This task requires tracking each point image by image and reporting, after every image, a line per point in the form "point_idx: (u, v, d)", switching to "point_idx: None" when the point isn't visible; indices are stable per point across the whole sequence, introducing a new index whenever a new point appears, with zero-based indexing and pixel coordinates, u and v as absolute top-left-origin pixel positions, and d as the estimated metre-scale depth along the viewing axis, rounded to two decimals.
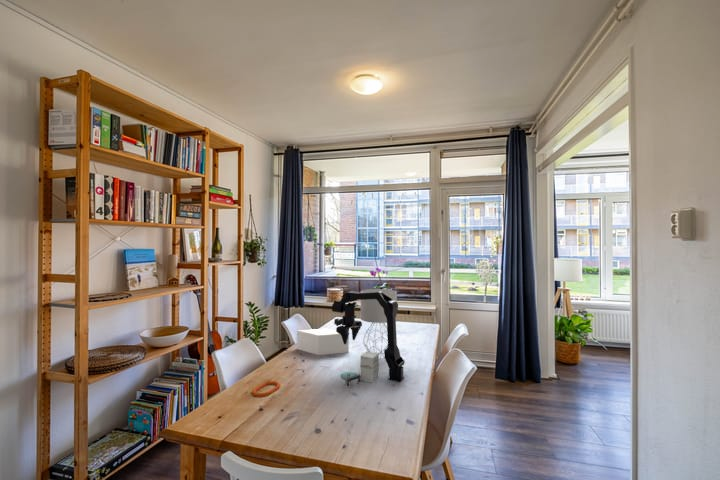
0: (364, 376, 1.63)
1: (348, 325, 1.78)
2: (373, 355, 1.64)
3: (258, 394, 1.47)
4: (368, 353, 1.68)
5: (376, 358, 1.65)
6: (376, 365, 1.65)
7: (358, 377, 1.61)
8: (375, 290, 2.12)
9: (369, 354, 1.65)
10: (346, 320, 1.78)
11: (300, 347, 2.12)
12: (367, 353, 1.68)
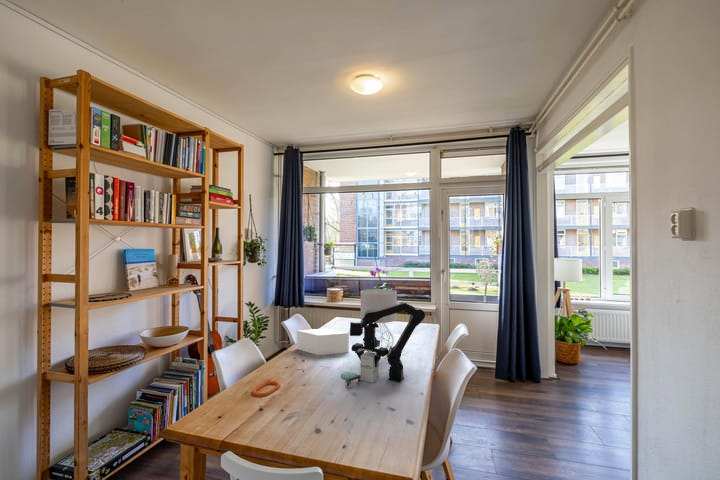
0: (364, 375, 1.63)
1: None
2: (373, 355, 1.64)
3: (258, 394, 1.47)
4: (368, 353, 1.68)
5: None
6: None
7: (358, 377, 1.61)
8: (375, 290, 2.12)
9: (369, 354, 1.65)
10: None
11: (300, 347, 2.12)
12: (367, 353, 1.68)
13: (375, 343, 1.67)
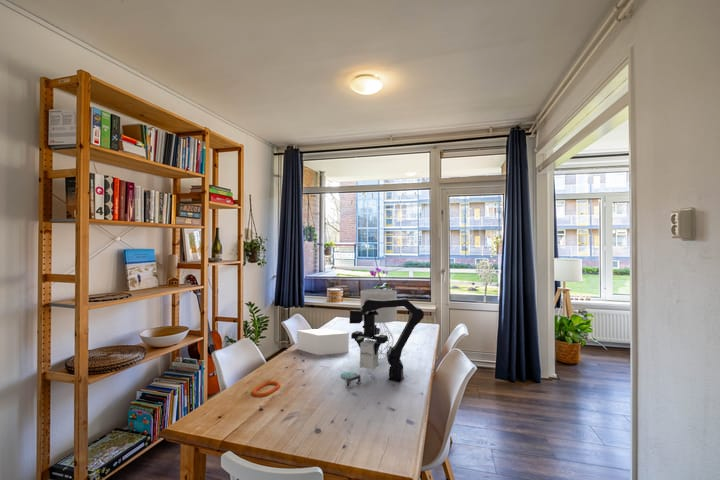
0: (363, 363, 1.63)
1: (363, 334, 1.67)
2: (373, 343, 1.64)
3: (258, 394, 1.47)
4: (368, 341, 1.68)
5: None
6: None
7: (358, 377, 1.61)
8: (375, 290, 2.12)
9: (369, 342, 1.65)
10: None
11: (300, 347, 2.12)
12: (367, 340, 1.68)
13: (375, 331, 1.67)
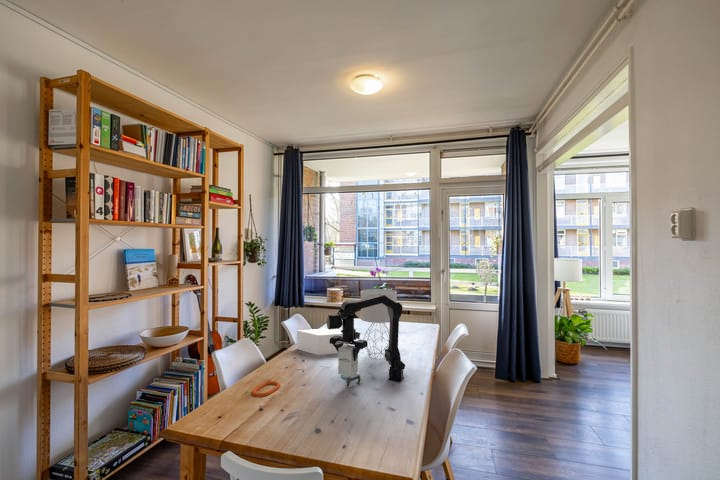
0: (342, 369, 1.55)
1: None
2: (351, 348, 1.56)
3: (258, 394, 1.47)
4: (347, 346, 1.59)
5: None
6: None
7: (358, 377, 1.61)
8: (375, 290, 2.12)
9: (348, 347, 1.57)
10: None
11: (300, 347, 2.12)
12: (346, 345, 1.59)
13: (354, 335, 1.58)
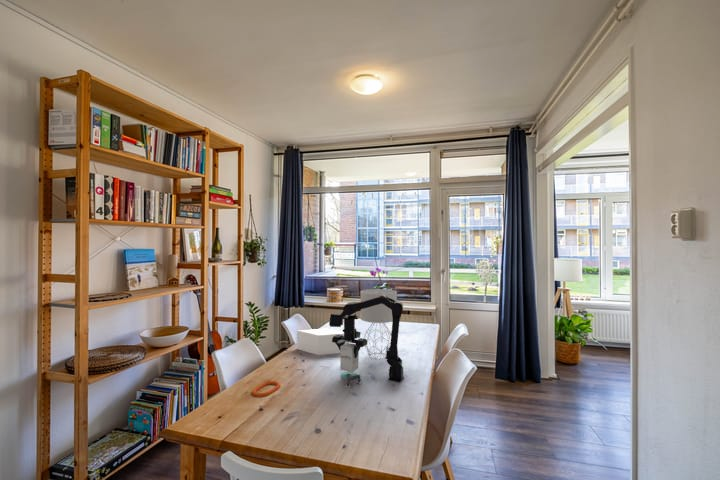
0: (344, 366, 1.67)
1: None
2: (352, 346, 1.68)
3: (258, 394, 1.47)
4: (348, 344, 1.71)
5: None
6: None
7: (358, 377, 1.61)
8: (375, 290, 2.12)
9: (349, 345, 1.69)
10: None
11: (300, 347, 2.12)
12: (347, 344, 1.72)
13: (355, 334, 1.71)
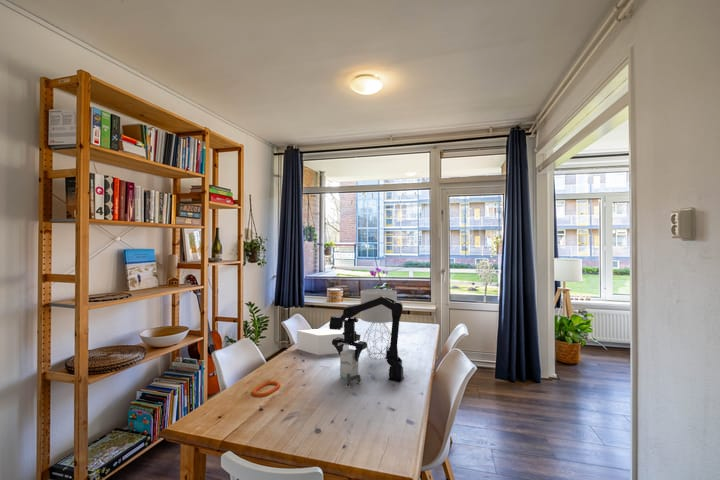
0: (343, 372, 1.67)
1: None
2: (352, 352, 1.68)
3: (258, 394, 1.47)
4: (348, 350, 1.71)
5: None
6: None
7: (358, 377, 1.61)
8: (375, 290, 2.12)
9: (349, 351, 1.69)
10: None
11: (300, 347, 2.12)
12: (347, 349, 1.72)
13: (355, 337, 1.71)
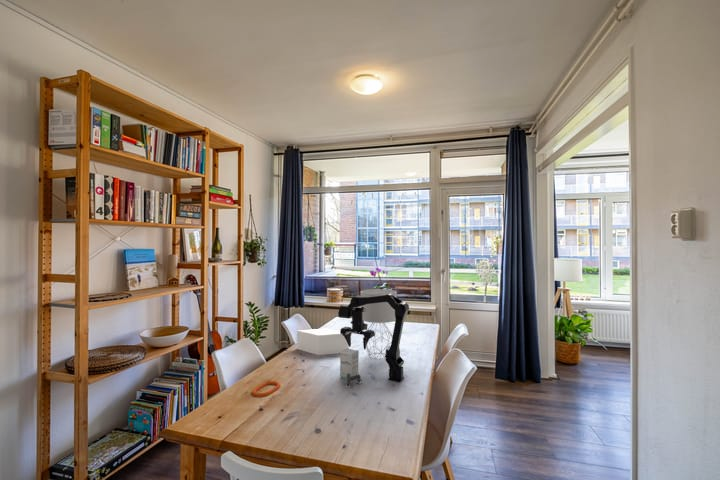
0: (343, 372, 1.67)
1: None
2: (352, 352, 1.68)
3: (258, 394, 1.47)
4: (348, 350, 1.71)
5: (355, 355, 1.68)
6: (356, 361, 1.69)
7: (358, 377, 1.61)
8: (375, 290, 2.12)
9: (349, 351, 1.69)
10: None
11: (300, 347, 2.12)
12: (347, 349, 1.72)
13: None
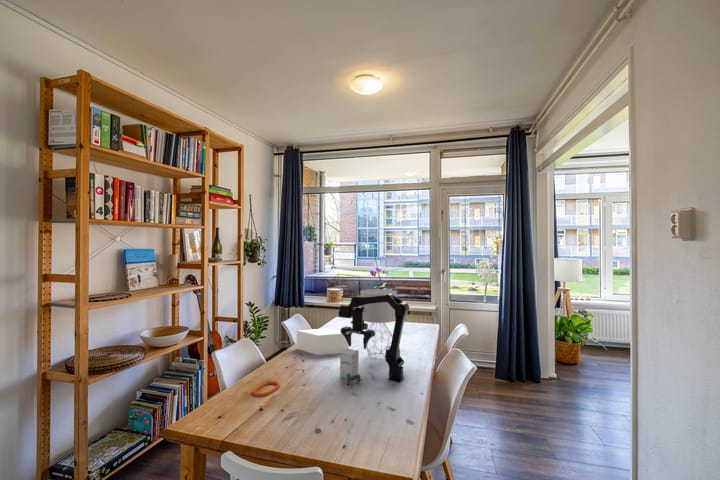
0: (343, 372, 1.67)
1: (352, 329, 1.76)
2: (352, 352, 1.68)
3: (258, 394, 1.47)
4: (348, 350, 1.71)
5: (355, 355, 1.68)
6: (356, 361, 1.69)
7: (358, 377, 1.61)
8: (375, 290, 2.12)
9: (349, 351, 1.69)
10: None
11: (300, 347, 2.12)
12: (347, 349, 1.72)
13: (363, 326, 1.76)
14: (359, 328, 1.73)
